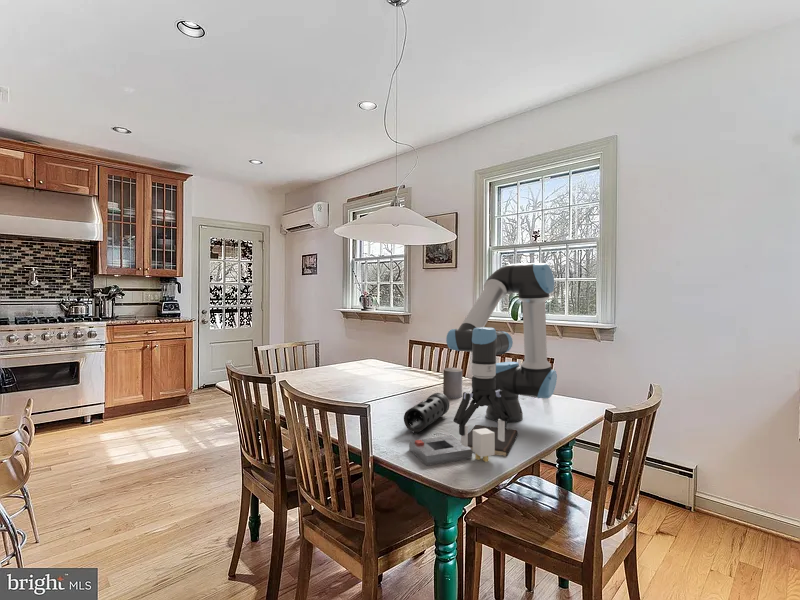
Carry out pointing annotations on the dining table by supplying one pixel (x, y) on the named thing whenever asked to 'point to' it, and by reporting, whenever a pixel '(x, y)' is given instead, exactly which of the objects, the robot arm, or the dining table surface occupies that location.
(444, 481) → the dining table surface
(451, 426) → the dining table surface
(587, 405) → the dining table surface
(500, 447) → the hardcover book
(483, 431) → the plug
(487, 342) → the robot arm
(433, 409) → the muzzle brake
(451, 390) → the pillar candle
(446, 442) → the socket plate
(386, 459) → the dining table surface
